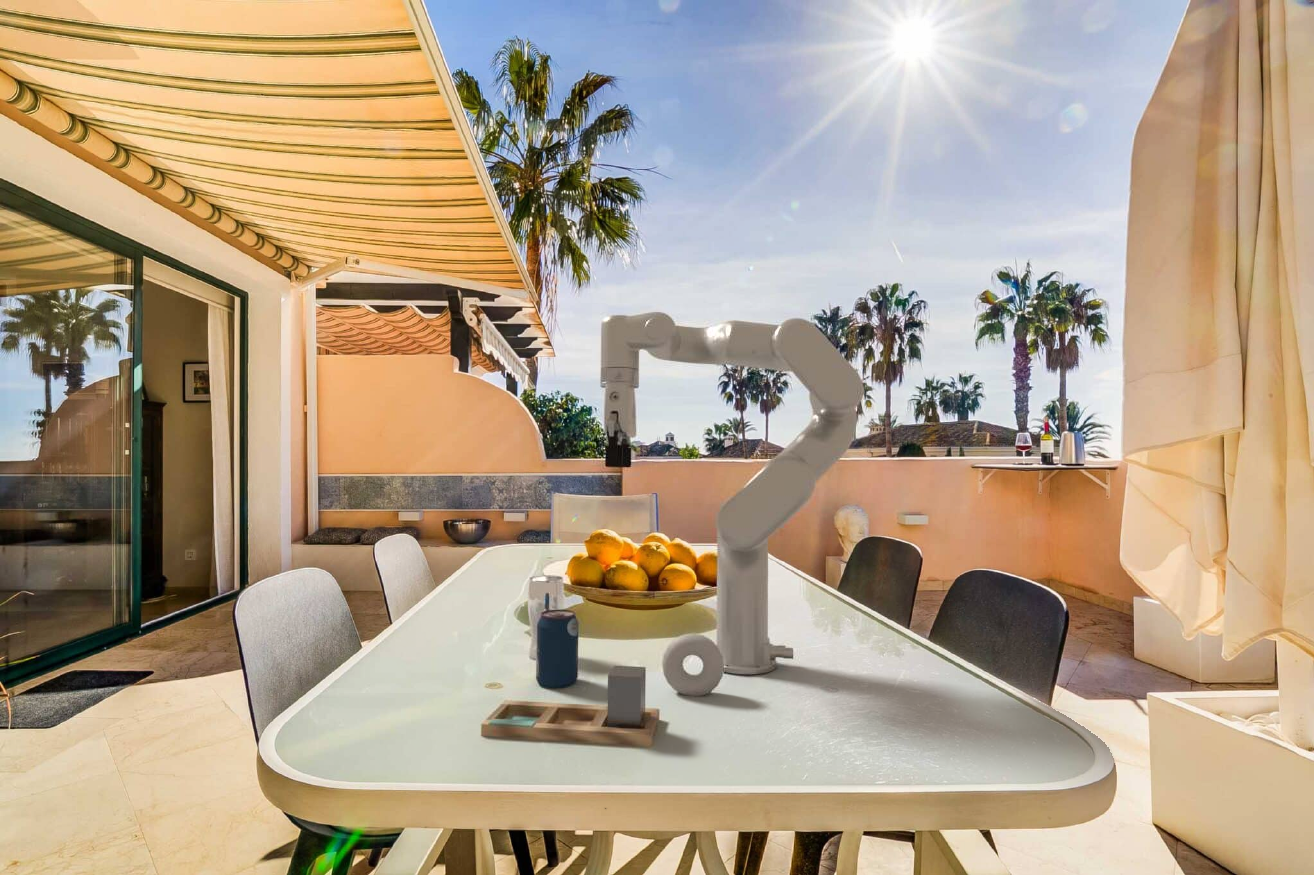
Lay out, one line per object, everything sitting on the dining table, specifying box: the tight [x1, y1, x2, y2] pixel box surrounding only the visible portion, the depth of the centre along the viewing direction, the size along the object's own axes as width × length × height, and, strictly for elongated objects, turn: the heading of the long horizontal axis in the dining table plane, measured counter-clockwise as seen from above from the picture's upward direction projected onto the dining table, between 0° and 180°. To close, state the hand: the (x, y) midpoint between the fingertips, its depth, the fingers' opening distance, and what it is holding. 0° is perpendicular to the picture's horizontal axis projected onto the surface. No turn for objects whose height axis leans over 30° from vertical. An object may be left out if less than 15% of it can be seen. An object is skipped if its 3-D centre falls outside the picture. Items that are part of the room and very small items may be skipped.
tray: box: [480, 699, 661, 748], centre depth 89 cm, size 23×9×2 cm, turn 83°
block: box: [607, 665, 647, 729], centre depth 88 cm, size 4×4×8 cm
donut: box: [661, 632, 724, 697], centre depth 103 cm, size 10×4×10 cm, turn 82°
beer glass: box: [527, 574, 565, 660], centre depth 124 cm, size 7×7×15 cm
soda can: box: [535, 608, 580, 689], centre depth 108 cm, size 7×7×12 cm
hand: (618, 467), depth 124 cm, fingers open, 9 cm apart
